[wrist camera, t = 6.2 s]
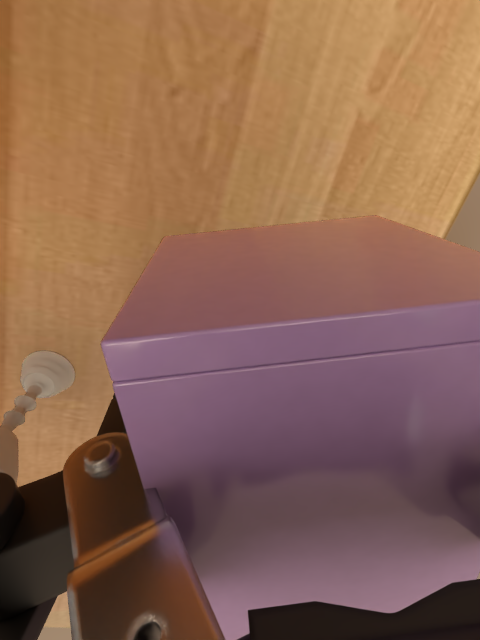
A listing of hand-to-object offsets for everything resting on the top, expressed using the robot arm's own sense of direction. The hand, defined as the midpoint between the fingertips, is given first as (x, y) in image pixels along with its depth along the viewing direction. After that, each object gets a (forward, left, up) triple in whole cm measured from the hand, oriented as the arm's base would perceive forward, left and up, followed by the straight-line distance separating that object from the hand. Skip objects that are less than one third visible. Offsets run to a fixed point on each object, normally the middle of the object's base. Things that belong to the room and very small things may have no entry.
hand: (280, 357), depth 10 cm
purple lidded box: (+1, 0, -1) cm, 1 cm away
